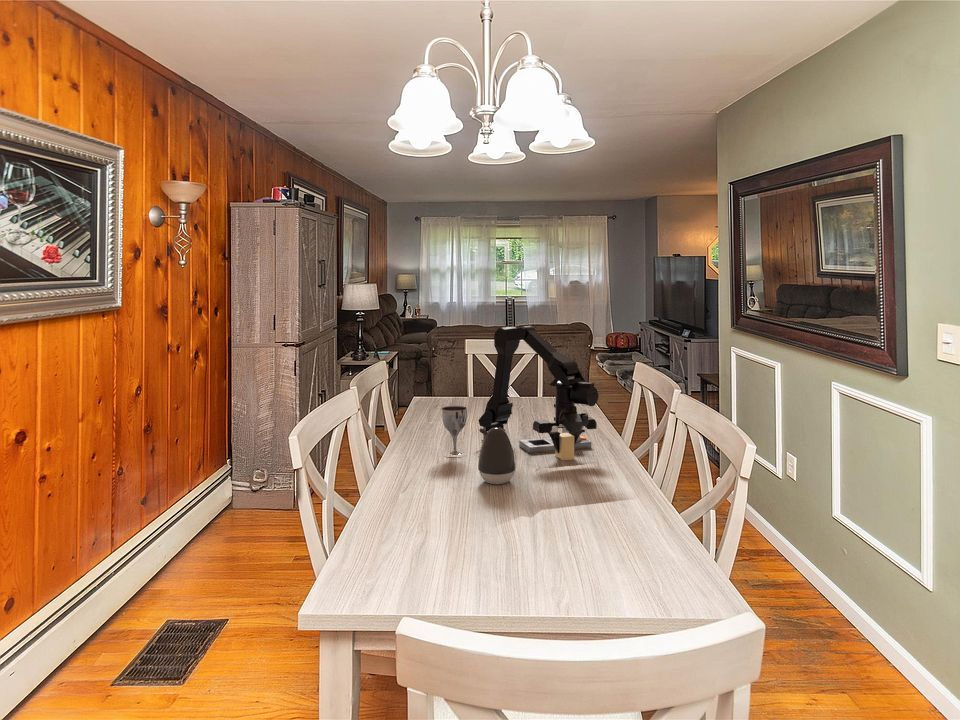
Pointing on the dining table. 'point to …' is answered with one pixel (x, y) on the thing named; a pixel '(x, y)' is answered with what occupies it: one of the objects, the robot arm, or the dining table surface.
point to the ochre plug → (565, 447)
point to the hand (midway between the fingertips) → (564, 452)
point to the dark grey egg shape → (496, 457)
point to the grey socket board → (549, 445)
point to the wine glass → (454, 422)
